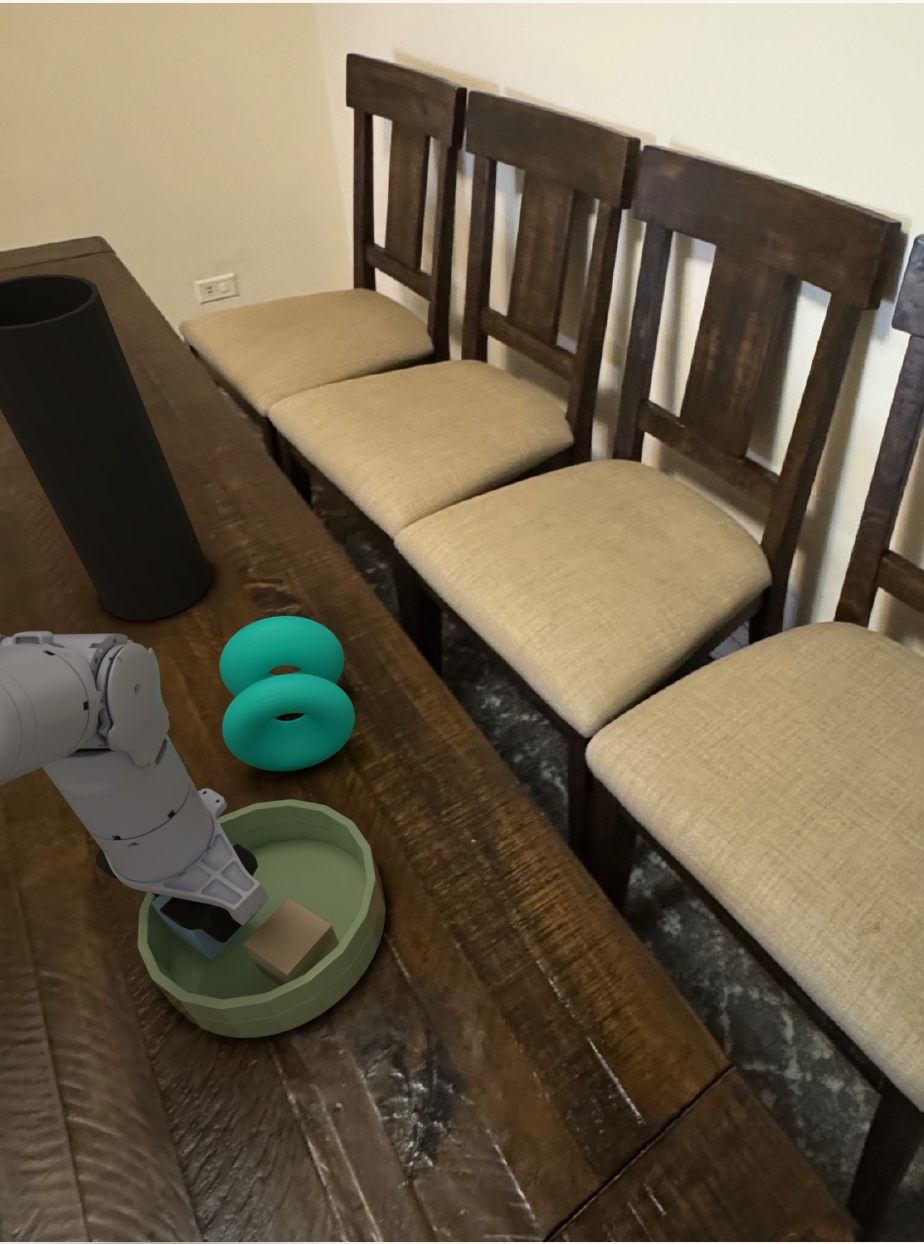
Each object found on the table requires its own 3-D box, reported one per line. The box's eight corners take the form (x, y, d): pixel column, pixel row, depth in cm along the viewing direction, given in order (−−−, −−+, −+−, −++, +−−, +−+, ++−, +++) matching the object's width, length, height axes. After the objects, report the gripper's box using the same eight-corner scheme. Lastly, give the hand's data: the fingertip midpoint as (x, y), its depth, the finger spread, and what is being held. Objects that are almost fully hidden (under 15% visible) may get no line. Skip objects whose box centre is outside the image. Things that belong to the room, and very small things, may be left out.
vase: (101, 631, 83) (-61, 336, 62) (105, 568, 89) (-40, 282, 69) (214, 607, 86) (96, 318, 65) (210, 547, 92) (101, 268, 72)
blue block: (211, 960, 57) (192, 932, 54) (171, 931, 59) (150, 902, 56) (257, 913, 60) (242, 884, 57) (218, 885, 61) (200, 856, 58)
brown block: (301, 1001, 58) (287, 975, 55) (258, 970, 59) (242, 944, 56) (343, 951, 60) (331, 924, 57) (301, 923, 61) (288, 896, 59)
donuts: (351, 677, 79) (329, 598, 73) (366, 759, 73) (344, 680, 66) (237, 703, 77) (203, 623, 70) (242, 791, 70) (205, 712, 63)
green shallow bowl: (274, 1085, 54) (253, 1056, 51) (115, 962, 60) (86, 928, 56) (429, 896, 64) (420, 861, 60) (280, 805, 69) (264, 768, 66)
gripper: (281, 803, 49) (330, 917, 58) (115, 701, 54) (185, 821, 63) (178, 900, 44) (249, 1007, 54) (8, 779, 49) (100, 896, 59)
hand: (209, 912), depth 58 cm, fingers closed on blue block, 4 cm apart
